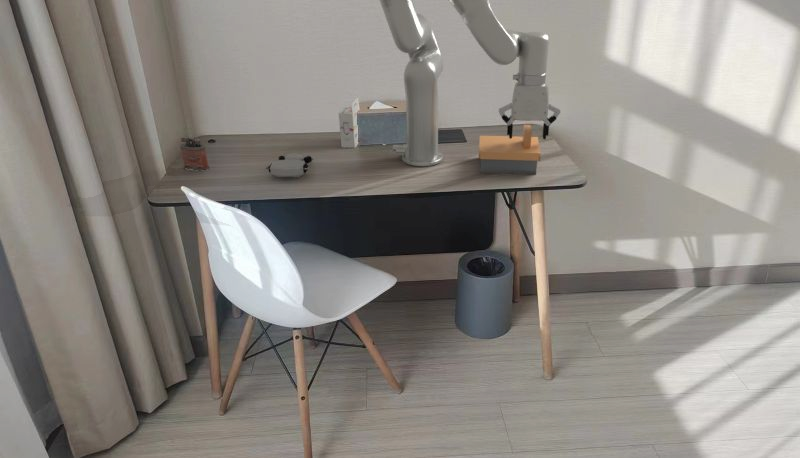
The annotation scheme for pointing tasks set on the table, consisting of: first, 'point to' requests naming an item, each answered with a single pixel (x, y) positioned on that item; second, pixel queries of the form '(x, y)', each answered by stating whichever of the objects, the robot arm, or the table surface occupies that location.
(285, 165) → the robot toy
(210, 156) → the table surface
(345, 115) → the ink cartridge box
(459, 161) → the table surface
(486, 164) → the tub
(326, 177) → the table surface
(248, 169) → the table surface
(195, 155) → the lighter
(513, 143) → the lid
